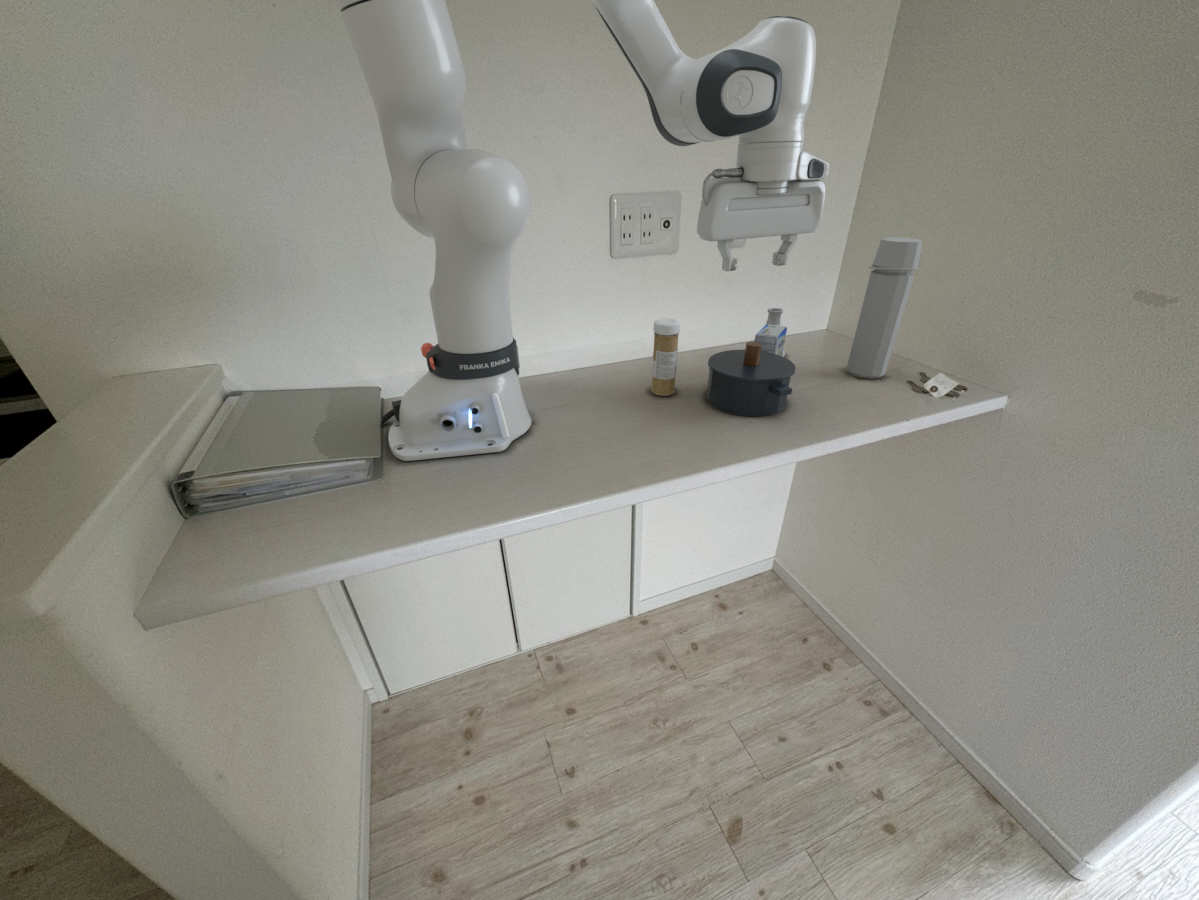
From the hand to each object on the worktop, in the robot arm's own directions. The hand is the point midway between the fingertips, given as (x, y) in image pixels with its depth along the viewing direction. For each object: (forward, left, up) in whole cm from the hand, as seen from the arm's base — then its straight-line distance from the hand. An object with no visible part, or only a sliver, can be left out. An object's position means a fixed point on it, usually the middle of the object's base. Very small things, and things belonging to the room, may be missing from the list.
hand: (754, 267), depth 78 cm
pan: (+1, -1, -23) cm, 23 cm away
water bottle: (+31, +1, -23) cm, 39 cm away
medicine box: (+13, +9, -23) cm, 28 cm away
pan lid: (+1, -1, -16) cm, 16 cm away
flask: (+20, +17, -23) cm, 35 cm away
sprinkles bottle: (-11, +8, -23) cm, 27 cm away
